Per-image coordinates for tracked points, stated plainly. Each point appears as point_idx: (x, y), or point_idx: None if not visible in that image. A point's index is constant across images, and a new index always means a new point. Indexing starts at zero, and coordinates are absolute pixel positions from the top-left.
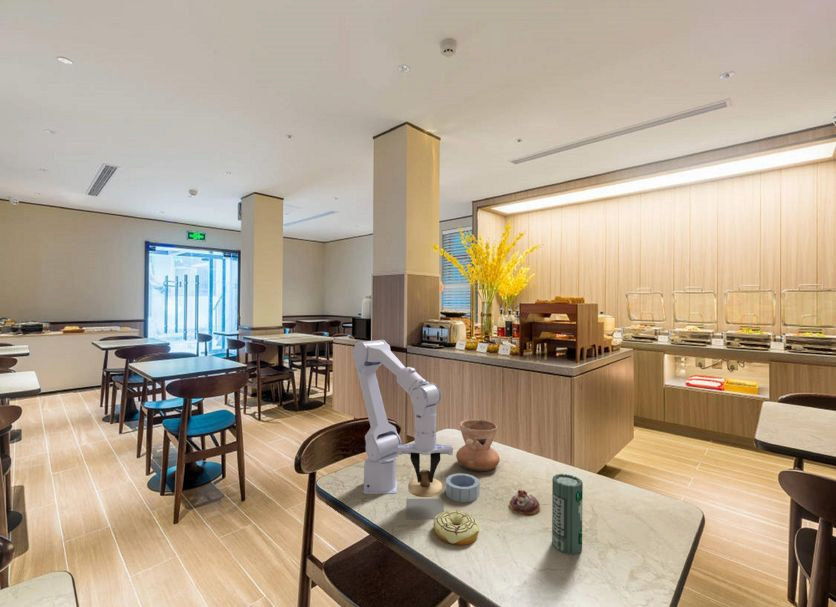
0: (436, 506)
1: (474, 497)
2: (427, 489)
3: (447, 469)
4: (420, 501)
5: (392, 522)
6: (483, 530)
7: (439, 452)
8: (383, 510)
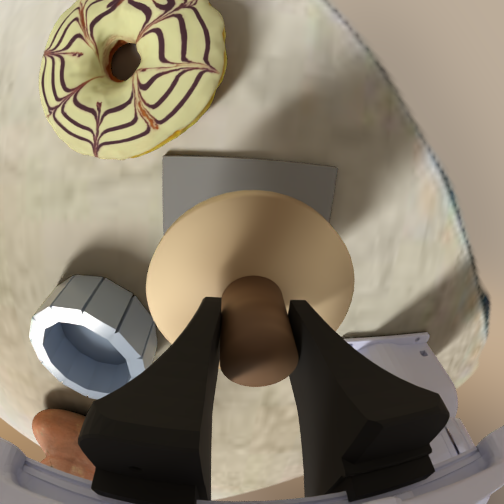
0: None
1: (54, 291)
2: (242, 246)
3: None
4: None
5: (385, 163)
6: (40, 101)
7: (104, 499)
8: (401, 245)
